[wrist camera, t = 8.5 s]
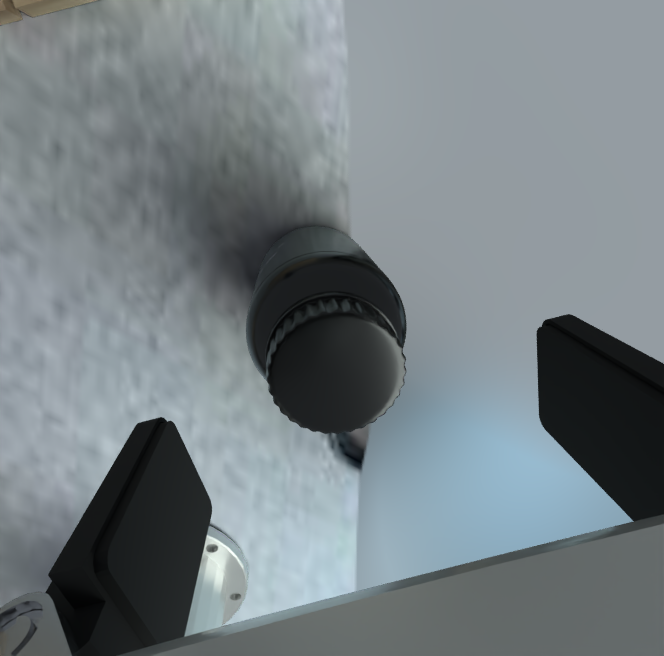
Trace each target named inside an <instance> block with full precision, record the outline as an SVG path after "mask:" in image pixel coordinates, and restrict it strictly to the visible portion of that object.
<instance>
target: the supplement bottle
mask: <svg viewBox="0 0 664 656" xmlns="http://www.w3.org/2000/svg"><path fill="white" fill-rule="evenodd" d="M405 338H406V315H405V310H404V306H403V303H402V300H401V298H400V296H399V294H398V292H397V290H396V289H395V287H394V285H393V284H392V282H391V281H390V280H389V278H388V277H387V276H386V275H385V274H384V273H383V272H382V271H381V270H380V268H378V266H377V265H376V264H375V263H374V261H373V260H372V259H371V258H370V257H369V256H368V255H367V254H366V253H365V251H364V250H363V249H362V248H361V247H360V246H359V245H358V244H357V243H356V242H355V241H354V240H353V239H351V238H350V237H349V236H347V235H346V234H344V233H342V232H340V231H338V230H335V229H332V228H328V227H321V226H310V227H303V228H300V229H296V230H294V231H291V232H290V233H288V234H286V235H284V236H283V237H281V238H280V239H279V240H278V241H277V242H276V243H275V244H274V245H273V246H272V247H271V248H270V249H269V251H268V252H267V254H266V255H265V257H264V259H263V261H262V264H261V267H260V270H259V273H258V277H257V280H256V284H255V288H254V291H253V295H252V299H251V302H250V306H249V310H248V315H247V321H246V339H247V346H248V349H249V353H250V355H251V358H252V360H253V362H254V364H255V366H256V368H257V369H258V371H259V372H260V374H261V375H262V376H263V377H264V379H265V380H266V381H267V382H268V384H269V387H268V390H269V392H270V394H271V395H272V396H273V401H274V403H275V404H276V405H277V406H279V407H280V411H281V413H283V414H284V415H286V416H288V418H289V420H290V421H292V422H295V423H297V424H298V425H299V426H300V427H303V428H308V429H310V430H311V431H313V432H316V431H320V432H322V433H325V434H327V433H336V434H339V433H342V432H352V431H353V430H355V429H358V428H364V427H365V426H366V425H367V424H369V423H373V422H375V421H376V420H377V418H378V417H380V416H382V415H384V414H385V413H386V411H387V409H388V408H390V407H391V406H392V405H393V404H394V401H395V399H396V398H397V397H398V396H399V395H400V389H401V388H402V386H403V385H404V376H405V374H406V368H405V366H404V364H405V361H406V358H405V356H404V354H403V352H402V351H403V347H404V343H405Z"/></svg>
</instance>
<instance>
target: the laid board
mask: <svg viewBox="0 0 664 656" xmlns="http://www.w3.org/2000/svg"><path fill="white" fill-rule="evenodd" d="M20 20H23V18H22V16H21V14H20V11H19V9H17V8H15V6H14V3H13V1H12V0H0V25H3V24H7V23H11V22H16V21H20Z"/></svg>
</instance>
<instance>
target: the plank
mask: <svg viewBox="0 0 664 656" xmlns="http://www.w3.org/2000/svg"><path fill="white" fill-rule="evenodd" d="M12 1H13V3H14V6H15V8H17V9H19V10H20V11H22V12H24V13H26V14H27V15H29V16H31V17H36V16H40V15H44V14H47V13H51V12H55V11H59V10H63V9H67V8H70V7H74V6H78V5H82V4H86V3H90V2H94V1H97V0H12Z"/></svg>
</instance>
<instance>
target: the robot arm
mask: <svg viewBox="0 0 664 656" xmlns="http://www.w3.org/2000/svg"><path fill="white" fill-rule="evenodd" d="M537 360H538V361H537V362H538V396H539V418H540V421H541V423H542V425H543V427H544V428H545V430H546V431H547V432H548V433H549V434H550V435H551V436H552V437H553V438H554V439H555V440H556V441H557V442H558V443H559V444H560V445H561V446H562V447H563V448H564V449H565V451H566V452H567V453H568V454H569V455H570V456H571V457H572V458H573V459H574V460H575V461H576V462H577V463H578V464H579V465H580V466H581V467H582V468H583V469H584V470H585V471H586V472H587V473H588V474H589V475H590V476H591V477H592V478H593V479H594V481H595V482H597V484H598V485H599V486H600V487H601V488H602V489H603V490H604V491H605V492H606V493H607V494H608V495H609V496H610V497H611V498H612V499H613V500H614V501H615V502H616V503H617V504H618V505H619V506H620V507H621V508H622V510H623V511H625V513H626V514H627V515H628V516H629V517H630V518H631V519H632V520H633V521H634V522H630V523H626V524H622V525H618V526H614V527H610V528H606V529H602V530H598V531H594V532H590V533H585V534H582V535H577V536H573V537H570V538H566V539H562V540H557V541H554V542H549V543H546V544H541V545H537V546H533V547H529V548H525V549H522V550H517V551H513V552H509V553H505V554H501V555H497V556H493V557H489V558H485V559H481V560H478V561H474V562H470V563H466V564H462V565H458V566H454V567H450V568H446V569H443V570H438V571H434V572H431V573H426V574H422V575H418V576H415V577H411V578H407V579H403V580H399V581H395V582H391V583H387V584H383V585H380V586H376V587H372V588H368V589H364V590H360V591H356V592H352V593H348V594H344V595H340V596H337V597H333V598H329V599H325V600H321V601H317V602H314V603H310V604H306V605H302V606H298V607H294V608H291V609H287V610H283V611H279V612H275V613H272V614H268V615H264V616H260V617H256V618H252V619H249V620H245V621H241V622H237V623H233V624H229V625H226V626H222V625H223V624H225V623H226V622H227V621H228V620H230V619H231V618H232V617H233V616H234V615H235V613H236V612H237V611H238V610H239V609H240V607H241V605H242V603H243V601H244V599H245V596H246V592H247V586H248V568H247V562H246V560H245V558H244V556H243V553H242V552H241V550H240V549H239V548H238V547H237V545H236V544H235V543H234V542H233V541H232V540H231V539H230V538H228V537H227V536H226V535H225V534H223V533H222V532H220V531H218V530H216V529H215V528H213V527H211V526H209V524H210V519H211V514H212V505H211V501H210V498H209V496H208V494H207V492H206V489H205V487H204V485H203V483H202V481H201V479H200V477H199V475H198V472H197V470H196V468H195V466H194V464H193V462H192V460H191V458H190V455H189V453H188V451H187V449H186V447H185V445H184V443H183V441H182V439H181V436H180V434H179V432H178V430H177V428H176V426H175V424H174V423H173V422H172V421H168V422H167V421H166V420H165V419H164V418H162V417H160V418H156V419H152V420H148V421H145V422H141V423H138V424H137V425H136V426H135V428H134V430H133V431H132V433H131V435H130V436H129V438H128V440H127V441H126V443H125V445H124V447H123V448H122V450H121V452H120V453H119V455H118V457H117V458H116V460H115V462H114V464H113V465H112V467H111V469H110V470H109V472H108V474H107V476H106V477H105V479H104V481H103V482H102V484H101V486H100V487H99V489H98V491H97V493H96V494H95V496H94V498H93V499H92V501H91V503H90V504H89V506H88V508H87V510H86V511H85V513H84V515H83V516H82V518H81V520H80V521H79V523H78V525H77V527H76V528H75V530H74V532H73V533H72V535H71V537H70V539H69V540H68V542H67V544H66V545H65V547H64V549H63V550H62V552H61V554H60V556H59V557H58V559H57V561H56V562H55V564H54V566H53V567H52V569H51V571H50V573H49V574H48V576H49V577H50V578H51V580H52V582H51V584H50V586H49V588H48V589H47V591H46V593H42V592H34V593H29V594H25V595H23V596H21V597H18V598H16V599H14V600H12V601H10V602H9V603H7V604H6V605H4V606H2V607H1V608H0V656H664V364H663V363H661V362H659V361H657V360H655V359H654V358H652V357H649V356H648V355H646V354H644V353H643V352H641V351H639V350H637V349H635V348H633V347H631V346H629V345H627V344H626V343H624V342H622V341H620V340H618V339H616V338H614V337H612V336H611V335H609V334H607V333H605V332H603V331H601V330H599V329H597V328H596V327H594V326H592V325H590V324H588V323H586V322H584V321H582V320H580V319H579V318H577V317H575V316H573V315H570V314H568V315H563V316H559V317H555V318H552V319H547V320H545V321H544V322H543V324H542V327H539V328H538V330H537Z"/></svg>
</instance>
